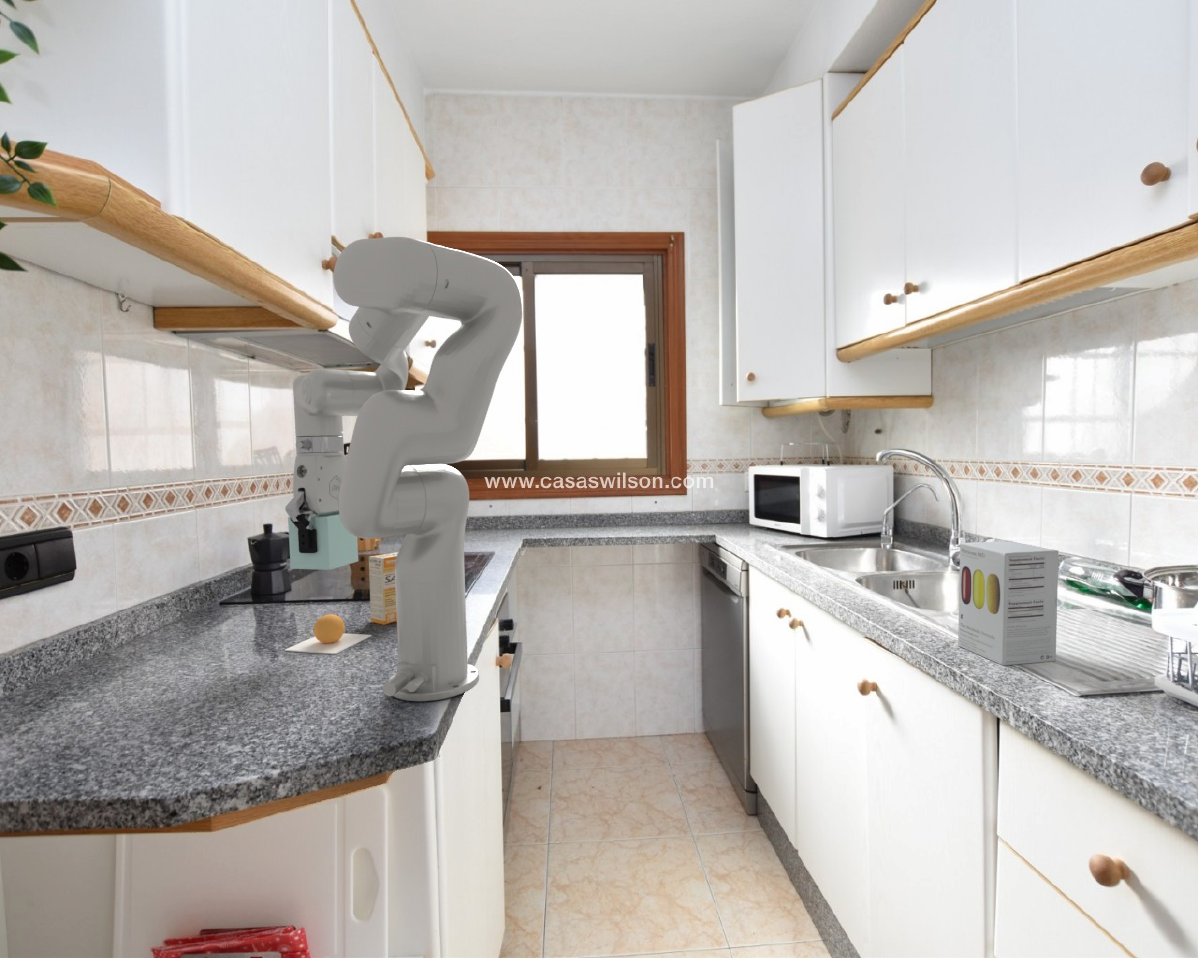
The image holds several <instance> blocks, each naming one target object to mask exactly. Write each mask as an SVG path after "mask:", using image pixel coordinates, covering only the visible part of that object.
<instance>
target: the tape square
mask: <svg viewBox="0 0 1198 958" xmlns="http://www.w3.org/2000/svg"><path fill="white" fill-rule="evenodd" d="M370 637H372V634H360V633H346V632H344V634H343V635H342V637H341V638H340V639H339V640H338V641H336V642H334V643H328V644H326V643H322V642H320V641H319V640H318V639H317V638H316V637H315V635H314V636H313V637H312V636H311V637H310V638H308V639H306V640H303V641H301V642H298V643H297V644H294V645H292V646H290V647H288V648H286V649H284V651H285V652H295V653H296V652H298V653H311V654H324V655H325V654H326V655H337V654H339V653H341V652H343V651H345V650H348V649H349V648H351V647H354V646H356V645H357V644H359V643H361V642H363V641H365V640H367V639H369V638H370Z"/></svg>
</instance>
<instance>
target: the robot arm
mask: <svg viewBox="0 0 1198 958" xmlns="http://www.w3.org/2000/svg"><path fill="white" fill-rule="evenodd" d="M333 283H334V290H335V292H336V294H337V296H338V297H339V298H340V300H342V301H343V302H344V303H345V304H347V305H349V306H353V307H356V308H357V307H358V308H357V310H356V311H355V313H354V315H353V316H351V318H350V321H349V324H348V333H349V338H350V339H351V341H352V343H353V344H354V345H355V347H356V348H357V350H359V351H360V352H361V353H362V354H363V355H365V356H366V357H368V358H369V359H371V360H373V361H374V362H375V363H377V364H380V365H379V366H378V368H377V369H376V370H375V371H372V372H371V371H361V370H348V369H334V368H333V369H332V368H316V369H313V370H311V371H309V372H308V373H306V374H301V375H298V376H296V377H295V378H294V379H293V382H292V392H293V393H292V396H293V409H294V411H293V412H294V413H293V414H294V415H293V416H294V433H295V452H296V456H295V459H294V467H293V481H292V482H293V483H292V488H293V489H292V490H293V491H292V494H293V496H292V497H293V498H291V500H290V501H289V502H288V504H287V505H285V510H284V511H286V513H287V515H288V517H291V518H290V519H291V521H292V522H293V523H294V525H295V529H296V530H298V542H299V552H300V553H316V552H317V533H316V529H313V527H314V524H315V517H317V516H318V514H328V513H334V512H339V515H340V519H341V522H342V524H343V526H344V528H345V529H346V530H347V531H348V532H349V533H350V534H352V535H353V536H355V537H357V538H359V539H366V540H370V539H371V540H372V539H383V538H390V537H396V536H398V537H399V536H403V535H404V536H405V537H404V539H403V541H402V543H401V545H400V547H399V549H398V551H397V552H398V554H397V557H396V562H395V590H396V613H397V621H396V630H397V631H396V635H397V657H398V661H397V663H396V673H395V674H393V675H392V676H391V677H390V678H389V679H388V681H386V682H385V683H383V685H382V692H383V693H384V695H385V696H386V697H394V698H396V699H398V700H402V701H407V702H431V701H440V700H445V699H449V698H453V697H456V696H459V695H462V694H464V693H467V692H469V691H470V690H472V689H473V688H474V687H476V685H478V683H479V681H480V672H479V670H478V668H477V667H475V666H474V665H472V664H469V663H468V662H469V661H468V635H467V634H468V633H467V609H466V584H465V583H466V579H465V578H466V577H465V535H466V525H467V520H468V519H467V518H468V514H469V513H468V512H469V507H470V506H469V505H470V489H469V485H468V482H467V480H466V478H465V476H464V475H463V474H462V473H461V472H460V471H459V470H458V469H456V468H454V467H453V466H451V465H450V464H455V463H459V462H460V463H461V462H462V461H465V460H466V459H468V458H469V457H470V456H471V455H472V454H473V452H474V451H475V448H476V446H477V444H478V442H479V438H480V435H481V432H482V429H483V426H484V423H485V421H486V417H487V415H488V411H489V408H490V405H491V402H492V398H493V395H494V392H495V389H496V385H497V382H498V379H499V376H500V374H501V372H502V370H503V367H504V365H505V363H506V361H507V359H508V357H509V356H510V353H511V351H512V349H513V347H514V345H515V343H516V341H517V338H518V335H519V333H520V330H521V324H522V319H523V312H524V311H523V309H524V305H523V304H524V303H523V298H522V292H521V289H520V287H519V283H518V282H517V280H516V278H515V277H514V276H513V274H512V273H511V272H510V271H509V270H508V269H507V268H505V267H504V266H503V265H501V264H499V263H498V262H495V261H494V260H491V259H488V258H486V257H483V256H481V255H477V254H474V253H470V252H466V251H464V250H460V249H454V248H450V247H447V246H446V247H445V246H443V245H439V244H434V243H431V242H429V241H423V240H420V239H416V238H412V237H406V236H391V237H390V236H388V237H387V236H385V237H375V238H363V239H357V240H354V241H353V242H351V243H349V244H348V245H347V246H346V247H344V248H343V250H342V251H341V252H340V254H339V255H338V258H337V259H336V262H335V264H334V269H333ZM430 317H433V318H434V317H435V318H440V319H446V320H452V321H459V322H460V323H461V326H460V327H459V328H458V329H457V330H455V331H453V333H451V334H450V335H449V336H448V338H446V340H445V341H444V342H443V343H442V344H441V345H440V346H439V348H438V350H437V351H436V352H435V354H434V356H433V358H432V361H431V364H430V368H429V372H428V376H427V378H426V381H425V383H424V385H423V387H422V388H420V389H418V390H407V389H406V388H407V384H408V380H409V361H408V358H407V357H408V356H407V353H406V351H405V350H406V348H407V347H408V346H409V345H410V344H411V342H412V341H413V339H414V338H415V336H416V335H417V333H418V332H419V331H420V330H421V328H422V327H423V326H424V324H425V323H426V322H427V320H428V319H429V318H430ZM345 416H346V417H351V416H353V417H356V420H355V422H354V427H353V430H352V435H351V440H350V443H349V447H348V452H347V455H346V454H345V449H344V448H345V447H344V446H345V445H344V428H343V427H344V426H343V417H345ZM448 464H449V465H448ZM305 517H309V518H308V520H307V519H306V518H305Z"/></svg>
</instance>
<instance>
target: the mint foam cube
mask: <svg viewBox="0 0 1198 958" xmlns="http://www.w3.org/2000/svg"><path fill="white" fill-rule="evenodd" d="M290 518H291V517H290V516H288V517H287V519H288V540H289V541H288V542H289V558H290V559H289V562H290V564H289V565H290V570H291V569H293V570H297V569H299V570H321V571H322V570H325V571H326V570H327V571H328V570H329V571H331V570H333V569H338V568H341V567H344V566H347V565H350V564H354V563H357V562H359V548H358V547H359V545H358V537H355V536H353V535H352V534H350V533H349V532H348V531H347V530H346V529H345V528H344V526H343V524H342V522H341V519H340V515H339V512H334V513H328V514H318V516H317V517H315V524H314V527H313V529H316V533H317V552H316V553H300V552H299V542H298V530H296V529H295V525H294V523H293V522H292V521H291V519H290ZM305 518H306V519H307V520H308V518H309V517H305Z"/></svg>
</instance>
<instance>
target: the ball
mask: <svg viewBox="0 0 1198 958" xmlns="http://www.w3.org/2000/svg"><path fill="white" fill-rule="evenodd" d="M343 620H344V619H342V618H341V617H340V616H339V615H336V614H333V613H331V614H326V615H323V616H321V617H320V618H318V619H317V620H316V621H315V623H314V626H313V633H314V636H315V637H316V638H317V639H318V640H319V641H320V642H322V643H326V644H328V643H334V642H336V641H338V640H339V639H340V638H341V637H342V635H343V634H344V633H345V630H346V629H345V628H346V627H345V626H346V625H345V623H344V621H343Z"/></svg>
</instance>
